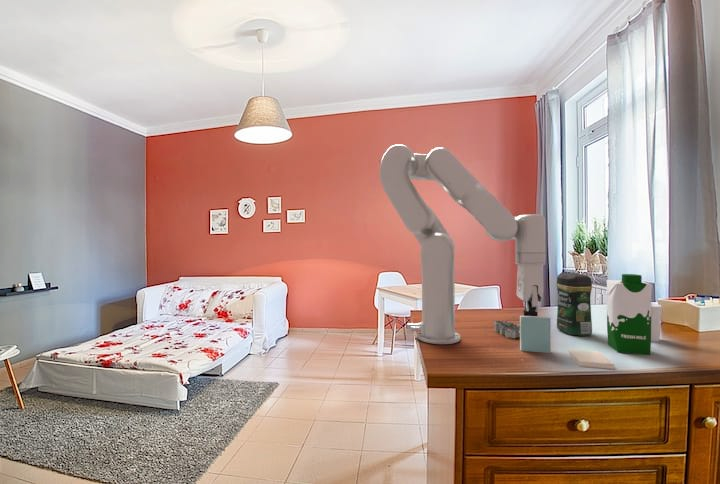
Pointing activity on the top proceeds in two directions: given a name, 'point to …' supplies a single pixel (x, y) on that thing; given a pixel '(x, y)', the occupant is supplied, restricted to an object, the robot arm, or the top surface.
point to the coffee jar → (574, 304)
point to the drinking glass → (655, 322)
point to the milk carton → (629, 314)
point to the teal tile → (535, 334)
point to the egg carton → (507, 329)
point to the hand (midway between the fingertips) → (530, 324)
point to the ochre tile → (590, 359)
